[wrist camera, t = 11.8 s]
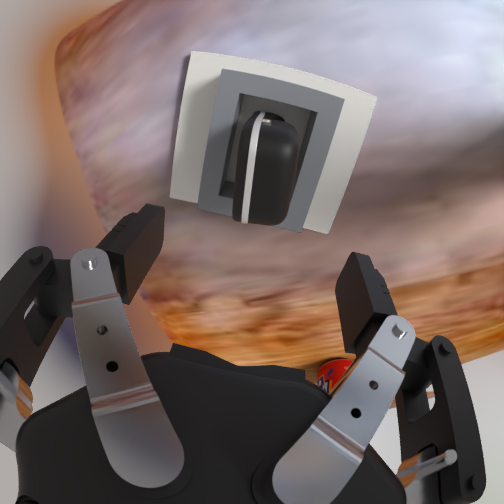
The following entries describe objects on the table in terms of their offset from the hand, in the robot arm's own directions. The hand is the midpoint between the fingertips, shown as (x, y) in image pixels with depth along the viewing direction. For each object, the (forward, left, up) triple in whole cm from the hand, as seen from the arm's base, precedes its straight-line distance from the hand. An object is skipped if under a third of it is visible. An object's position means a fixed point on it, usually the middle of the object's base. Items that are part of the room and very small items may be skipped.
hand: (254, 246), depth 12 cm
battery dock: (0, 0, -19) cm, 19 cm away
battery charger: (0, 0, -18) cm, 18 cm away
